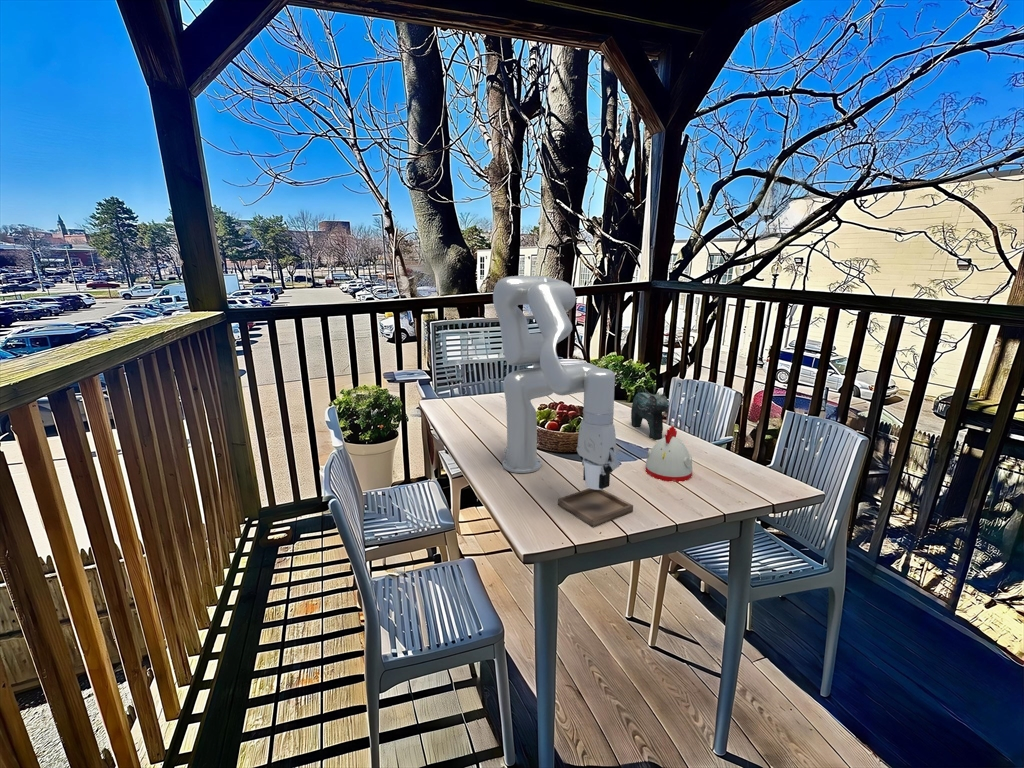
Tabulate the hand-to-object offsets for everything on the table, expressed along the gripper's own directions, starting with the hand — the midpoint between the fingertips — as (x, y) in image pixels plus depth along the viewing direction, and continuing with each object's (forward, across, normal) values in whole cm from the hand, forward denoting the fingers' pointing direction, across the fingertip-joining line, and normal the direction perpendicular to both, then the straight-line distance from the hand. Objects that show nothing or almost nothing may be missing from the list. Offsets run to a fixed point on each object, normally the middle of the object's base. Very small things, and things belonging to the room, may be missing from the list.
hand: (596, 482), depth 125 cm
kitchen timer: (+8, -4, +35) cm, 36 cm away
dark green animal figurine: (+7, -33, +58) cm, 67 cm away
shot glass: (+1, 0, 0) cm, 1 cm away
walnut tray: (+7, 0, 0) cm, 7 cm away
